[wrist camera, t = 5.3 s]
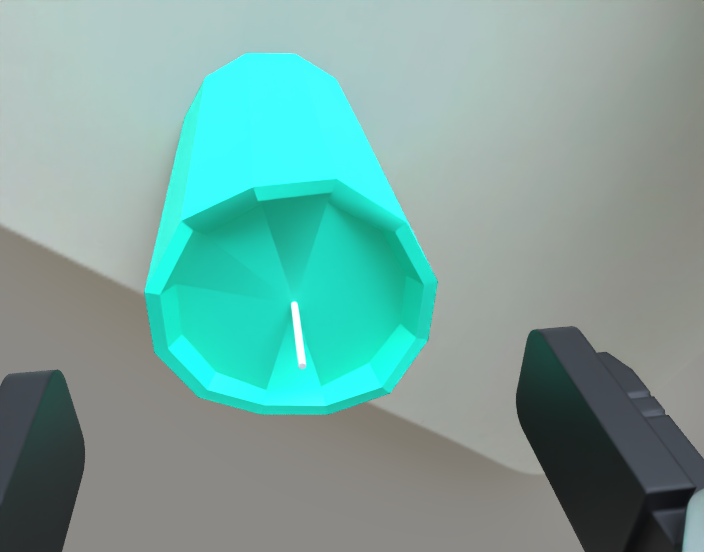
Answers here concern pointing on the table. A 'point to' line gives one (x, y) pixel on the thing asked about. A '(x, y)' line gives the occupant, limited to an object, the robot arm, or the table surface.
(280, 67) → the candle
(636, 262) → the table surface
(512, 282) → the table surface
